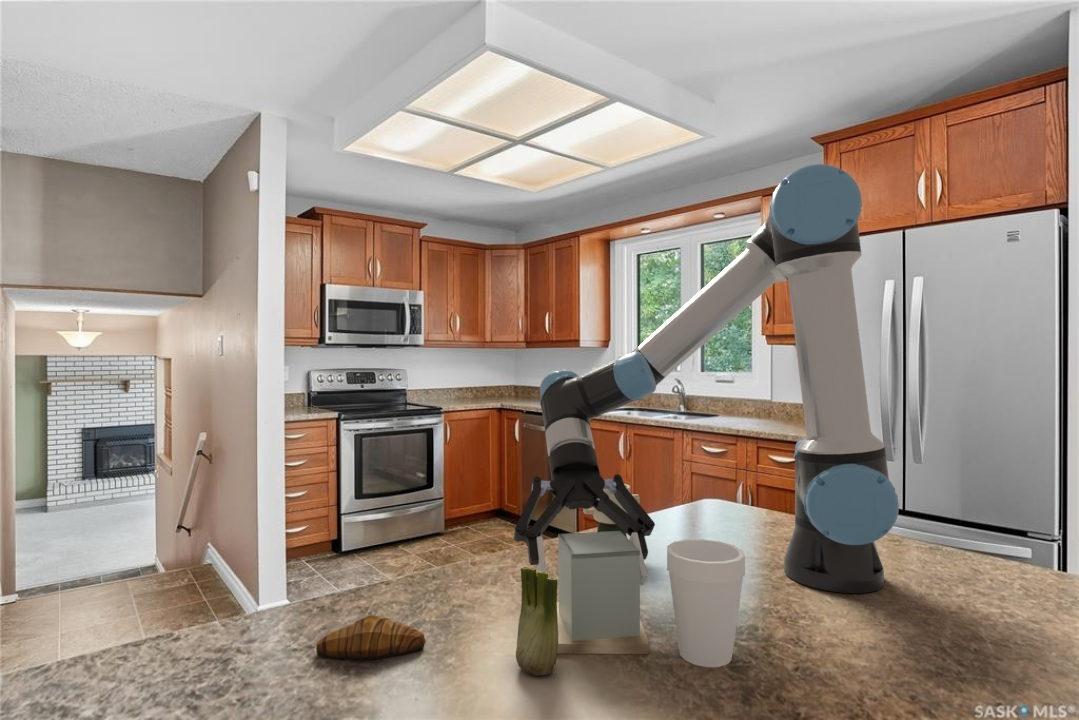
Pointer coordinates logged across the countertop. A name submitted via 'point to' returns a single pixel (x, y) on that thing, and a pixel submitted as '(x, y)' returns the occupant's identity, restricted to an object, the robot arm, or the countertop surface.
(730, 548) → the foam cup
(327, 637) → the croissant
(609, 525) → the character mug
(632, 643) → the board
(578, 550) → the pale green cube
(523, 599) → the fennel bulb
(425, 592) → the countertop surface
